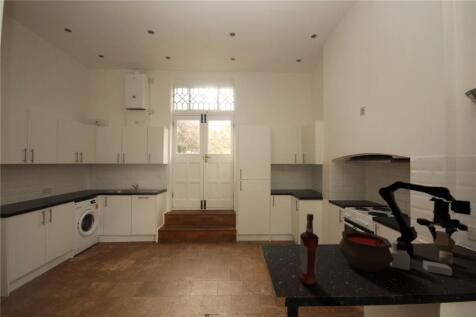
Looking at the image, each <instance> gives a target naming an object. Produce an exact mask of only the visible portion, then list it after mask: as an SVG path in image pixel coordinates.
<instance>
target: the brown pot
mask: <svg viewBox="0 0 476 317" xmlns="http://www.w3.org/2000/svg"><path fill="white" fill-rule="evenodd" d="M357 229H358V228H357V227H356V226H355V225H353V226H352V227H351V230H344V231H341V234H342V238H341V240H340V241H339V250H340V252H341V253H342V255H343V257H344V258H345V260H346V262H347V263H348V265H350V266H352V267H354V268H355V269H356V270H358V271H359V270H360V271H363V272H367V273H371V272H372V273H373V272H374V273H379V272H382V271H383V270H384V269H385V268H386V267H387V266H390V263H391V262H392V261H393V260H394V259H393V257H392V254H391V252H390V250H389V248H391V247H392V242H390V241H389V238H386V237H383V236H381V235H377V234H375V233H372V232H366V231H360V230H359V231H358V230H357ZM390 246H391V247H390Z"/></svg>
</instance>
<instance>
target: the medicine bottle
mask: <svg viewBox="0 0 476 317" xmlns="http://www.w3.org/2000/svg"><path fill="white" fill-rule="evenodd" d="M388 248H389V250H390V252H391V254H392V257H393V259H394V260H393V261H392V262H391V263H390V264H389V266H391V267H392V268H396V269H399V270H406V271H410V266H411V264H410V262H411V259H410V258H411V256H410V255H409V254H408V253H407V244H406V243H404V242H402V241H397V239H395V240H392V241H391V247H388Z"/></svg>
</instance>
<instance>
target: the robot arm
mask: <svg viewBox="0 0 476 317" xmlns="http://www.w3.org/2000/svg"><path fill="white" fill-rule="evenodd" d="M399 189H404V190H408V191H413V192H420V193H423V194H427V195H430V196H432V197H431V198H429V199H428V200H429V202H433V211H432V213H433V218H432V220H429V219H427V218H423V217H422V218H421V217H418V218H417V219H416V223H417V224H418V225H420V226H424V227H427V229H428V230H429V233H430V235H431V236H432V237H431V238H432V240H433V239H434V240H435V238H436V236H435V231H437V230H436V229H437V227H435V226H439V227H440V228H442V229H444V232H446V233H447V234H449V237H448V240H449V238H450V237H451V238H452V235H453V234H454V233H456V232H457V233H458V232H459V231H460V232H461V231H462V232H468V231H469V227H468V225H466V224H464V223H462V222H461V221H460V219H456V218H453V219H452V218H451V214H450V211H451V212H453V214H460V215H466V216H471V214H472V207H471V201H470V200H460V199H456V198H455V197H454V196H453V194H451V190H450V189H449V188H448V187H446V186H436V185H435V186H434V185H432V186H430V185H424V184H416V183H412V182H405V181H402V180H401V181H400V180H397V181H395V182H394V183H391V184H390V185H387V186H385V187H381V188H379V190H378V194H379V196H380V197H381V198H382V200H384V202H386V204H387V205H388V208H389V210H390V211H391V213H392V215H393V216H394V218H395V222H396V223H397V224H398V226H399V233H400V236H398V237H396V240H397V241H402V242H404V243H406V244H407V253H408V254H409V256H410V257H411V256H412V257H413V256H414V246H413V243H412V242H414V241H415V240H417V239H418V231H417V230H416V229H415V226H414V225H413V226H411V225H410V224H409V222H408V221H407V220H406V218H405V216H404V215H403V214H404V213H402V210H401V209H400V207H399V204H398V203H397V202H396V199H395V192H396V191H398V190H399Z"/></svg>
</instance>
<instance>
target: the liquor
mask: <svg viewBox="0 0 476 317" xmlns="http://www.w3.org/2000/svg"><path fill="white" fill-rule="evenodd" d="M314 217H315V216H314V214H313V213H306V225H305V226H306V227H305V231H304V232H302V233H300V235H299V239H300V243H299V247H300V248H299V249H300V255H299V256H300V274H299V276H298V278H299V280H300V281H301V282H302V283H303V284H305V285H307V286H308V285H309V286H311V285H314V284H315V283H316V282H317V278H316V274H317V260H318V249H319V241H320V240H319V236H318V235H317V234H315V233H314V224H313V222H314Z"/></svg>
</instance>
